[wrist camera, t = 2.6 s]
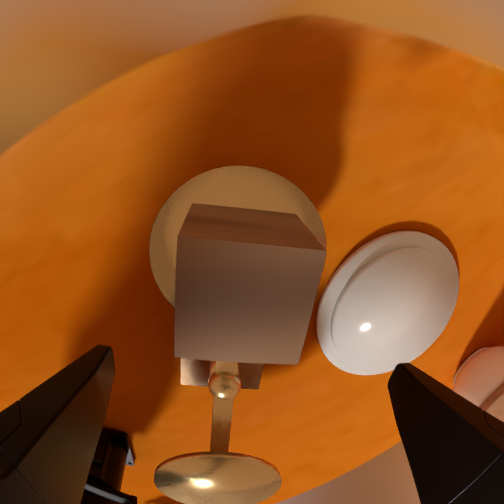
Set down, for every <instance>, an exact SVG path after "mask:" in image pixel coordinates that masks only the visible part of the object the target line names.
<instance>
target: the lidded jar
mask: <svg viewBox="0 0 504 504" xmlns="http://www.w3.org/2000/svg"><path fill="white" fill-rule="evenodd" d="M453 383H454V386H453V389H452V390H453V391H454V392H456V393H457V394H459V395H461V396H462V397H464V398H465V399H467V400H468V401H470V402H472V403H473V404H475V405H476V406H478V407H480V408H481V409H483V411H486V412H488V413H489V414H491V415H492V416H494V417H496V418H497V419H499V420H501V421H502V422H504V346H494V347H483V348H480V349H479V350H477V351H475V352H474V353H473V354H471V355H470V356H469V357H468V358H467V359H466V360H465V361H464V362H463V363H462V365H461V366H460V367H459V369H458V370H457V372H456V374H455V377H454V382H453Z"/></svg>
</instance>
